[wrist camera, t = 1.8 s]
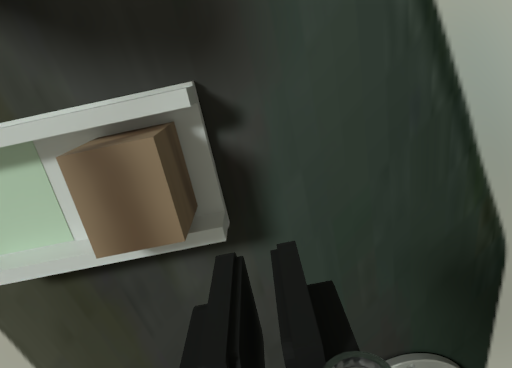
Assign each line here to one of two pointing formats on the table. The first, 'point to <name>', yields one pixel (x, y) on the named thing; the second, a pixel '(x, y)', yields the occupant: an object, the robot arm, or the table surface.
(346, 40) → the table surface
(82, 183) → the walnut block
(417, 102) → the table surface
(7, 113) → the table surface
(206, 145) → the chute
